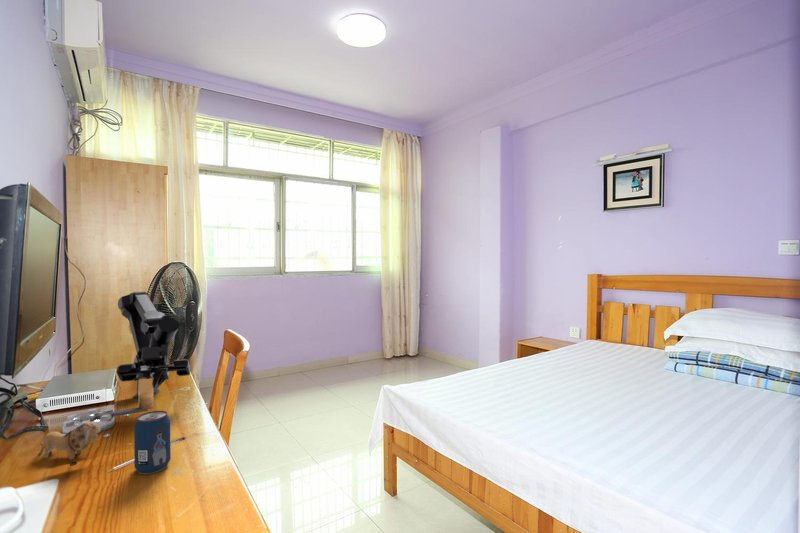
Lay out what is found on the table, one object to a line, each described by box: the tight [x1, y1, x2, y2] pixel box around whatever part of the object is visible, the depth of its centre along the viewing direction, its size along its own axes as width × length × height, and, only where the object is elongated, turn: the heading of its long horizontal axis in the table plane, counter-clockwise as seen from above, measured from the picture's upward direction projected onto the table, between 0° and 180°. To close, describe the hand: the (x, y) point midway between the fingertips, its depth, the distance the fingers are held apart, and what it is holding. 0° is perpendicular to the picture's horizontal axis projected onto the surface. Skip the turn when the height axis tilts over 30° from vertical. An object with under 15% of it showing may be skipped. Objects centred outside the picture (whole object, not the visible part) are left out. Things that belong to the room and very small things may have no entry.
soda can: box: [133, 410, 172, 475], centre depth 89 cm, size 7×7×12 cm
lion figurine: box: [37, 422, 101, 467], centre depth 92 cm, size 15×5×9 cm, turn 94°
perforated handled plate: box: [62, 377, 154, 434], centre depth 109 cm, size 20×11×12 cm, turn 120°
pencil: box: [105, 437, 186, 474], centre depth 95 cm, size 1×19×1 cm, turn 153°
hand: (150, 395), depth 115 cm, fingers closed, pressing on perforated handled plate
